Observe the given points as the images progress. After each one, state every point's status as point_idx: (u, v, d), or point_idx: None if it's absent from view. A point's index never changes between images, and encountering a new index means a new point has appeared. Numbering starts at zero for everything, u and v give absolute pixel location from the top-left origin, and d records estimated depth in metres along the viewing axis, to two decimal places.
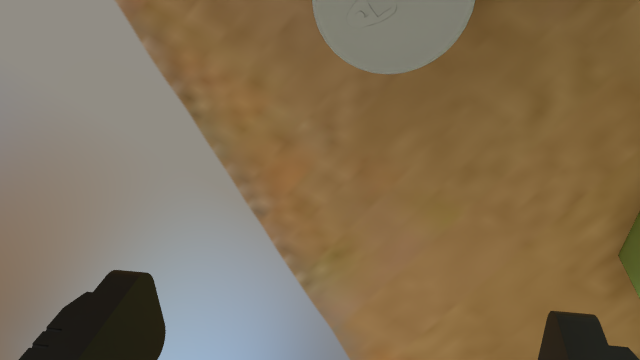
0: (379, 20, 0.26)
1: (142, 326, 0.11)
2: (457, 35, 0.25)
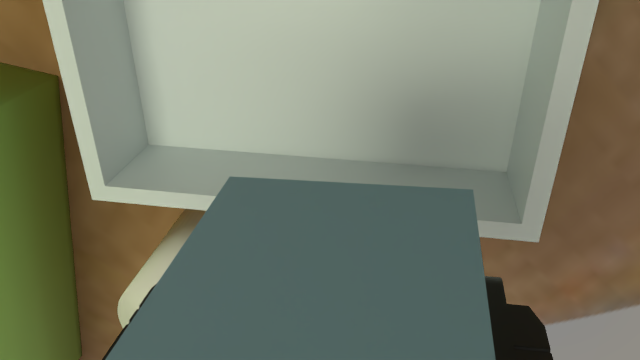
0: None
1: None
2: None
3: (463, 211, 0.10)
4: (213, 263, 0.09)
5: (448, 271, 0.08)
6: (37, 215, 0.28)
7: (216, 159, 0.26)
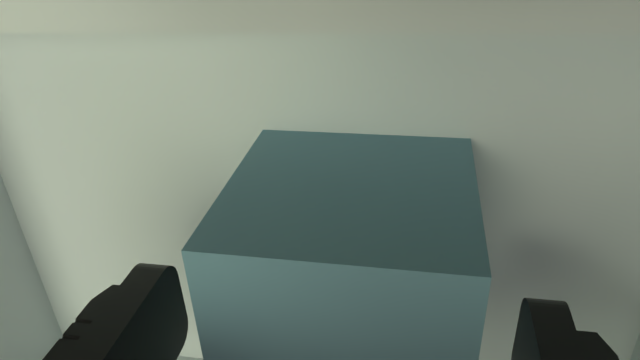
0: None
1: (167, 318, 0.11)
2: None
3: (462, 153, 0.12)
4: (257, 189, 0.10)
5: (451, 193, 0.10)
6: None
7: None
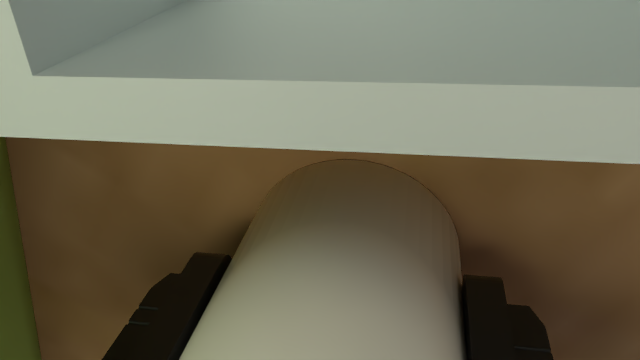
0: None
1: None
2: None
3: None
4: None
5: None
6: None
7: (402, 11, 0.08)
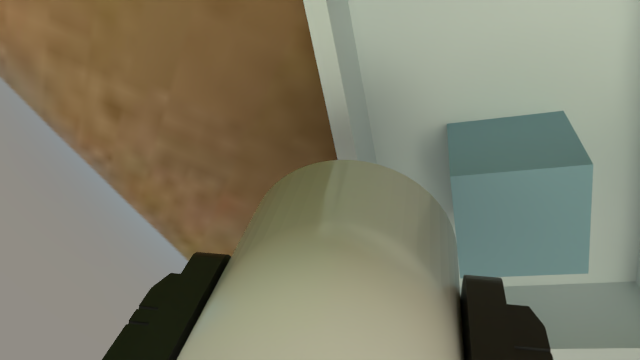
0: None
1: None
2: None
3: None
4: None
5: None
6: None
7: (353, 57, 0.23)
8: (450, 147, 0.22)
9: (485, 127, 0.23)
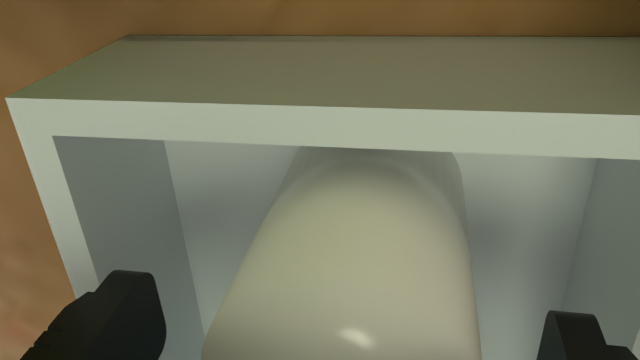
0: None
1: (143, 325, 0.11)
2: None
3: None
4: None
5: None
6: None
7: (160, 212, 0.16)
8: None
9: None
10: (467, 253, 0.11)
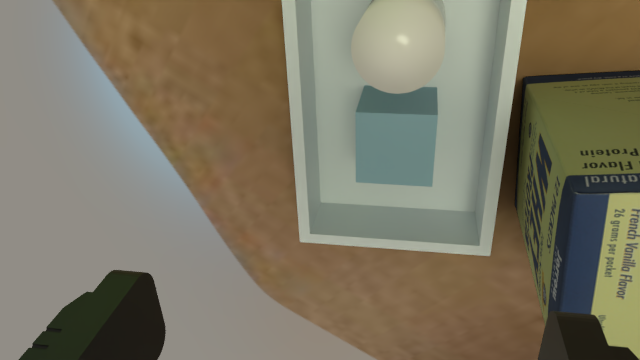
0: None
1: (142, 325, 0.11)
2: None
3: None
4: None
5: None
6: None
7: (308, 30, 0.35)
8: (361, 98, 0.35)
9: None
10: (442, 16, 0.30)
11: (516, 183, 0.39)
